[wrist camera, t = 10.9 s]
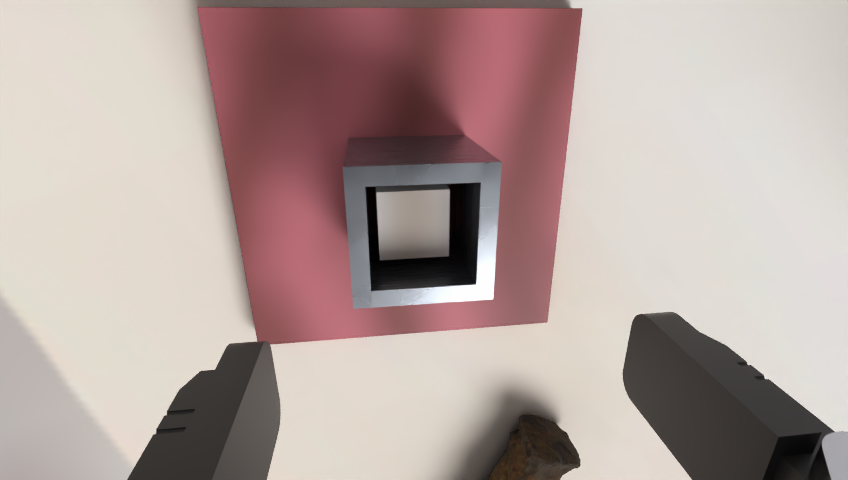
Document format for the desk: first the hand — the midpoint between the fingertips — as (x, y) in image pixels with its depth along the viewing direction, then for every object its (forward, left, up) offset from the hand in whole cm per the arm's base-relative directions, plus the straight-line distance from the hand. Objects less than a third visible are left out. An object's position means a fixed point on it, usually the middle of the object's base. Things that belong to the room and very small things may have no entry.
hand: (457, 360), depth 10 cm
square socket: (0, 0, -13) cm, 13 cm away
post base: (0, 0, -14) cm, 14 cm away
